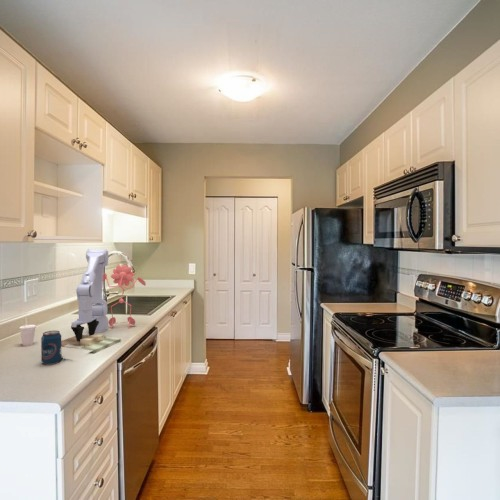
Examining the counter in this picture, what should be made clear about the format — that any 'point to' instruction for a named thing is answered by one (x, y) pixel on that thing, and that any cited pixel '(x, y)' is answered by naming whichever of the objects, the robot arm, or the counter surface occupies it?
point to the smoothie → (27, 334)
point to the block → (91, 339)
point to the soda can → (51, 347)
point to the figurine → (122, 277)
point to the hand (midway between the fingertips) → (85, 338)
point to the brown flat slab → (96, 347)
